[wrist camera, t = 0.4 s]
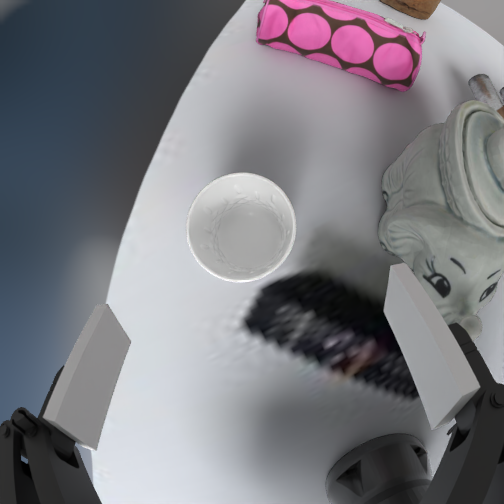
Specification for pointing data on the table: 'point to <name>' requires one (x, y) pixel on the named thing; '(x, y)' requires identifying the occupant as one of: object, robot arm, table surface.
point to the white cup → (241, 227)
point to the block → (414, 7)
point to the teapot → (451, 211)
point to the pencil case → (343, 39)
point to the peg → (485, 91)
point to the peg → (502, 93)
